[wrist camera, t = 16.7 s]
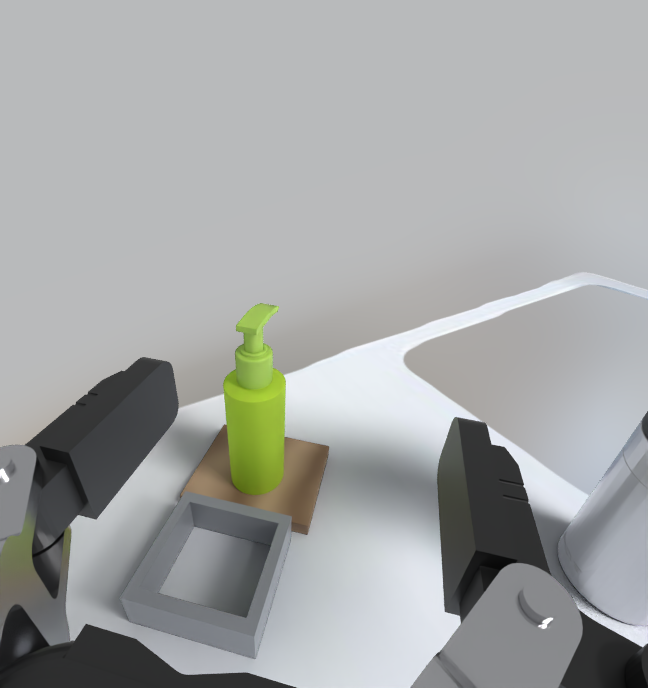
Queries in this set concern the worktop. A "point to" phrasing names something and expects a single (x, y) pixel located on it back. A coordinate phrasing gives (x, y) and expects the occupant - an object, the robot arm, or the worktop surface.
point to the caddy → (198, 619)
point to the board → (287, 498)
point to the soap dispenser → (255, 409)
